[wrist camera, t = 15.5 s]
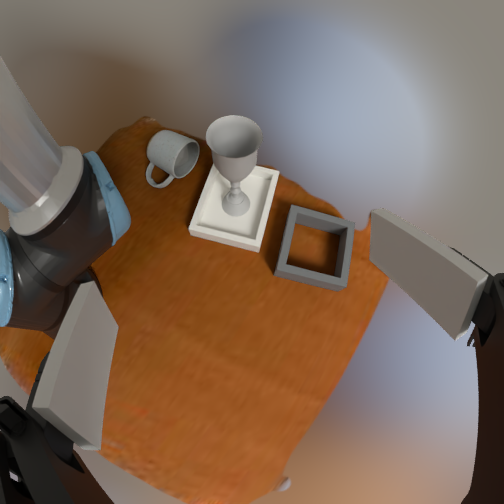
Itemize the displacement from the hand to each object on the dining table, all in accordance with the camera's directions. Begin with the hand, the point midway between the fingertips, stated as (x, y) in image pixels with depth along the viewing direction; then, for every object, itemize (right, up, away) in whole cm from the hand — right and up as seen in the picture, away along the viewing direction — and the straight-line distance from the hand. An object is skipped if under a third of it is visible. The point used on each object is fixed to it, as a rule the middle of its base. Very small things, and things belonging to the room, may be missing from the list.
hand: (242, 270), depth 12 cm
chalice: (-2, +9, +36) cm, 38 cm away
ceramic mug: (-15, +17, +39) cm, 45 cm away
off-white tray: (-2, +9, +37) cm, 38 cm away
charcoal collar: (+11, +1, +35) cm, 37 cm away
